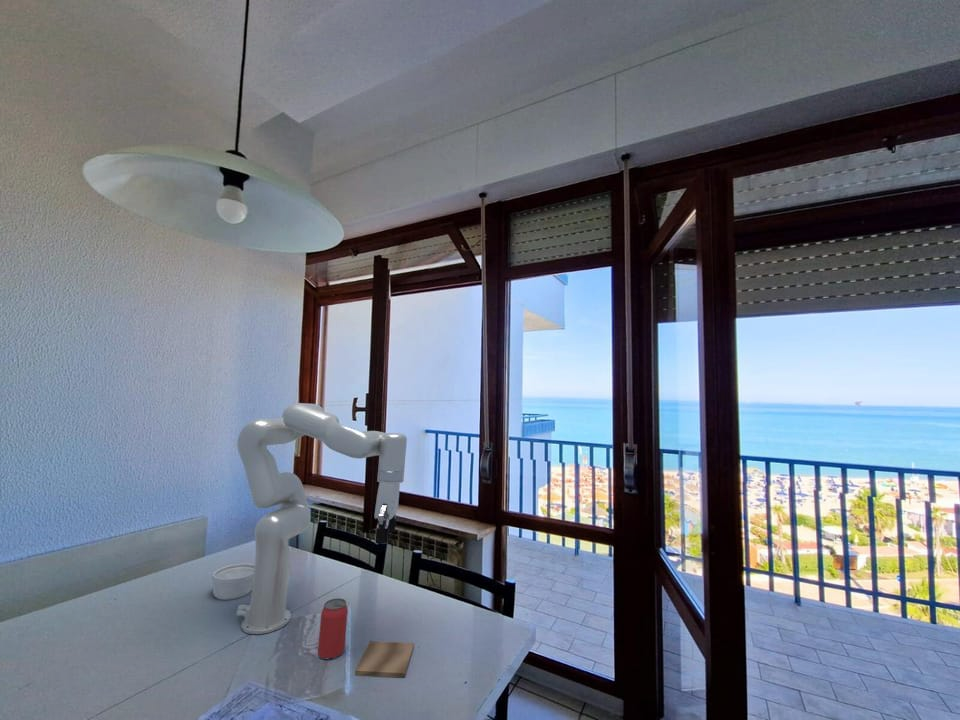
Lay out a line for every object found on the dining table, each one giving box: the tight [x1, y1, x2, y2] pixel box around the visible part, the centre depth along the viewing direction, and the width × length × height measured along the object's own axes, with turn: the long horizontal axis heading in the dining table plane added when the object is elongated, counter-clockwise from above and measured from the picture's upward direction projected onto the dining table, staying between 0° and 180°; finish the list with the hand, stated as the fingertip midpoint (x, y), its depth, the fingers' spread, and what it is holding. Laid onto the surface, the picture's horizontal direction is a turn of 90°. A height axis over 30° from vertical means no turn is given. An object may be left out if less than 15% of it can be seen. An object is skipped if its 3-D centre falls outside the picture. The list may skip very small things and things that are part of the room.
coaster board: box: [354, 640, 415, 679], centre depth 97 cm, size 12×12×1 cm
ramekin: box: [212, 562, 255, 601], centre depth 129 cm, size 13×13×7 cm
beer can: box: [317, 597, 349, 659], centre depth 100 cm, size 7×7×12 cm
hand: (385, 537), depth 109 cm, fingers open, 9 cm apart
